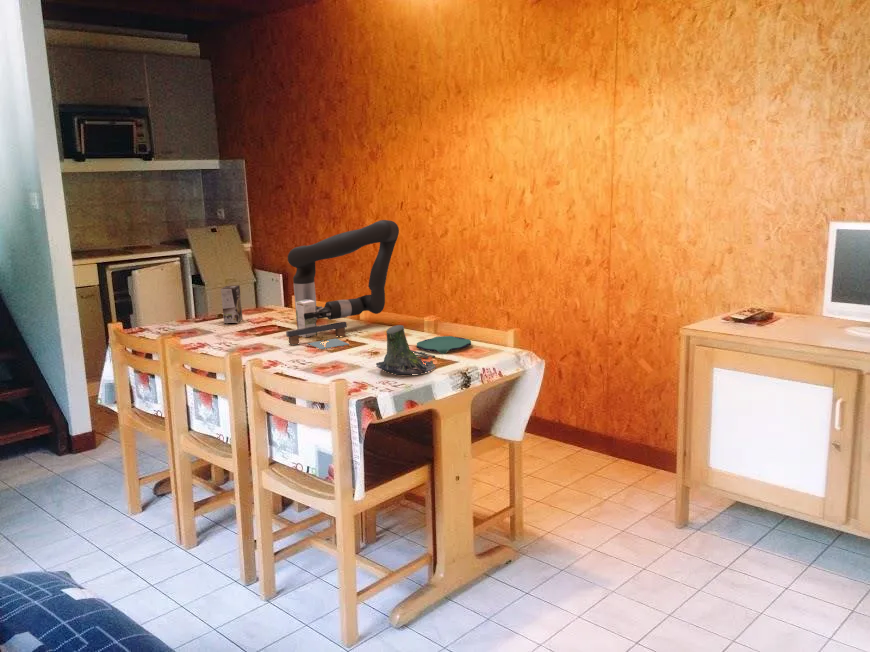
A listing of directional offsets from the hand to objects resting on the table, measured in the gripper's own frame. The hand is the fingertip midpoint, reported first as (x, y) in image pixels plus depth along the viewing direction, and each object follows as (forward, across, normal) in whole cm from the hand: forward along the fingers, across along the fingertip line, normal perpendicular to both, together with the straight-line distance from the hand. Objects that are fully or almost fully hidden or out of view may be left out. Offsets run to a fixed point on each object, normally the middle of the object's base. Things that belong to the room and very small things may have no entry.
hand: (300, 314), depth 305 cm
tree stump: (-8, +70, +9) cm, 71 cm away
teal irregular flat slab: (-29, +53, +10) cm, 62 cm away
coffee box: (+13, -49, +9) cm, 52 cm away
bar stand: (-2, +10, +9) cm, 14 cm away
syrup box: (-2, 0, +9) cm, 9 cm away
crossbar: (-2, +10, +6) cm, 12 cm away
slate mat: (-2, +20, +9) cm, 22 cm away
